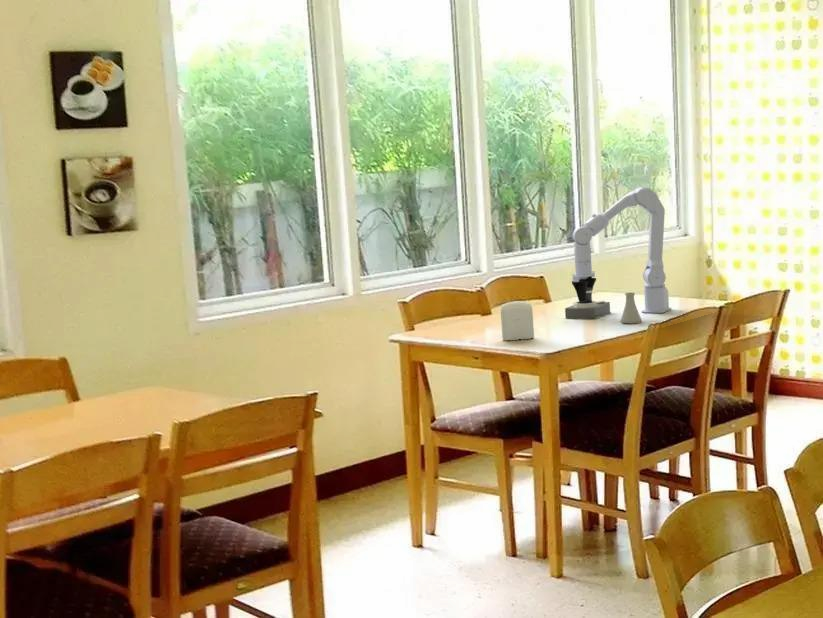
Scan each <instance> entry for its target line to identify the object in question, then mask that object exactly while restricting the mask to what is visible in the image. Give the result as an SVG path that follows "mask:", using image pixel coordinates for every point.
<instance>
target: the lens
mask: <svg viewBox="0 0 823 618" xmlns="http://www.w3.org/2000/svg"><path fill="white" fill-rule="evenodd" d="M592 294H593V290H592V288H590V287H587V288H586V298H585V301H579V300H578V301H579V303H583V304H585V303H592V301H593V295H592Z"/></svg>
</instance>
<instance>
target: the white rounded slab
mask: <svg viewBox="0 0 823 618" xmlns="http://www.w3.org/2000/svg"><path fill="white" fill-rule="evenodd" d="M533 314H534V313H533V306H532V305H531V302H527V301H521V300H515V301H509V302H505V303H503V304H501V308H500V321H501V322H500V323H501V335H502V337H501V339H502V341H503V340H510V341H519V339H521V340H532V339H531V338H533V339H534V338H535V330H534V329H535V328H534V315H533Z"/></svg>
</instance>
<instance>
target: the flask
mask: <svg viewBox="0 0 823 618" xmlns="http://www.w3.org/2000/svg"><path fill="white" fill-rule="evenodd" d="M624 295H625V305H624V309H623V311H622V312H623V313H622V315H621V318H620V322H619V323H621V324H628V325H629V324H630V325H631V324H639V323H641V322H643V321H642V317H641V316H640V312H639V311H638V307H637V305H636V302H635V301H636V300H635V292H625V293H624Z"/></svg>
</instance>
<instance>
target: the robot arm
mask: <svg viewBox="0 0 823 618" xmlns="http://www.w3.org/2000/svg"><path fill="white" fill-rule="evenodd" d="M638 205H639V206H640V207H642V208H643V209H644V210H646V211H647V213H649V228H648V229H649V231H648V245H647V246H648V247H647V248H648V251H647V261H646V265H645V269H644V270H643V273H642V278H643V280H644V281H645V283H644V285H643V287H644V288H643V289H644V309H643V310H641V311H640V313H646V314H647V313H648V314H649V313H650V314H651V313H652V314H656V313H657V314H663V313H665V312H668V311H669V310H672V307H670V306H669V305H670V304H669V303H670V300H669V299H670V298H669V290H668V288H667V287H666V284H665V282H666V278H667V277H666V273H665V271H664V261H663V251H664V250H663V248H664V231H665V214H666V213H665V211H666V210H665V206H664V205H663V202H662V201H661V200H660V198H659V197H658V194H657V193H656V191H654V190H653V189H651V188H649V187H645V186H637V187H636V188H634V189H633V190H631V191H629V192H628V193H625V195H624V196H622V197H621V198H620V199H618V201H616V202H615V203H614V204H613V205H612V206H610V207H609V208H607V210H606V211H604V212H597V213H593V214H592V215H591V217H590V218H589V219H588V220H587V221H585V222H582V223H581V224H580V226H578V227H576V228H575V229H574V231H573V233H572V235H571V236H572V240H573V241H574V244H573V247H574V248H573V249H574V250H573V251H574V268H575V269H574V271H575V272H574V273H572V281H571V284H572V286H573V288H574V290H575V292H576V295H577V299H578V301H585V298H586V288H587V287H590V288H592V291H593V289H594V286H595V283H596V282H597V278H596V275H595V274H596V273H595V272H596V271H595V270H592V269H593V268H592V265H593V264H592V251H591V249H592V248H591V240H592V238H593V237H595V236H597V235H598V234H599V233H600V232H602V231H603V230H605V229H606V228H607V227H608V226H609V223H610V221H611V219H613V218H615V217H616V216H618V214H620V213H621V212H623V211H624V210H625V209H627V208H630V207H637V206H638Z"/></svg>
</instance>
